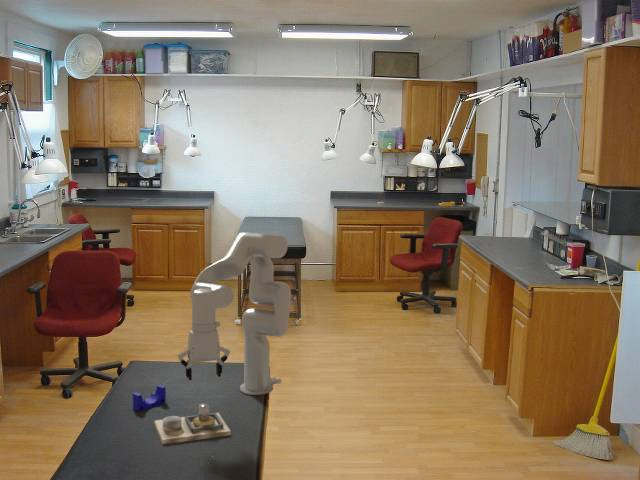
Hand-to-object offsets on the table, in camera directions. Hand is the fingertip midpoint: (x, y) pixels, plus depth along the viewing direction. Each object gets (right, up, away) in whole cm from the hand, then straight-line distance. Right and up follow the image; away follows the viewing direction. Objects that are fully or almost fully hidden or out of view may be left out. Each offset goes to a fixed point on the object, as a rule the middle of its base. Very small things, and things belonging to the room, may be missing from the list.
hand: (204, 377), depth 249 cm
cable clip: (-23, -14, +22) cm, 35 cm away
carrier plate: (-4, -18, +1) cm, 18 cm away
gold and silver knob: (0, -16, +3) cm, 16 cm away
